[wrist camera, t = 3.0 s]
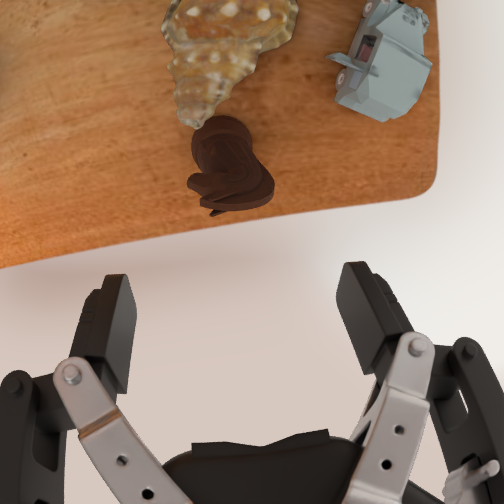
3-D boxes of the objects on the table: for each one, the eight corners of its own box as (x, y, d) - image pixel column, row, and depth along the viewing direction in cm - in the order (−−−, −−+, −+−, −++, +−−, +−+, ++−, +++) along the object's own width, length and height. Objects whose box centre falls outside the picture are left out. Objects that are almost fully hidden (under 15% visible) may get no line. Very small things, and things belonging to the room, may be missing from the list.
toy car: (412, 14, 18) (449, 17, 14) (372, 115, 23) (402, 134, 20) (344, -23, 16) (373, -32, 12) (302, 88, 22) (323, 101, 18)
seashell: (282, 66, 23) (270, 148, 19) (184, 50, 22) (140, 127, 18) (309, -32, 15) (311, 10, 10) (191, -48, 14) (127, -10, 10)
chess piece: (191, 116, 22) (179, 166, 14) (259, 115, 23) (287, 166, 15) (192, 171, 25) (184, 246, 17) (255, 170, 26) (278, 243, 18)
